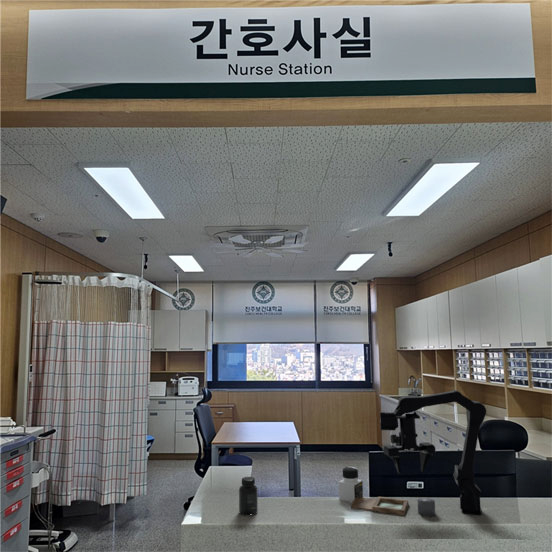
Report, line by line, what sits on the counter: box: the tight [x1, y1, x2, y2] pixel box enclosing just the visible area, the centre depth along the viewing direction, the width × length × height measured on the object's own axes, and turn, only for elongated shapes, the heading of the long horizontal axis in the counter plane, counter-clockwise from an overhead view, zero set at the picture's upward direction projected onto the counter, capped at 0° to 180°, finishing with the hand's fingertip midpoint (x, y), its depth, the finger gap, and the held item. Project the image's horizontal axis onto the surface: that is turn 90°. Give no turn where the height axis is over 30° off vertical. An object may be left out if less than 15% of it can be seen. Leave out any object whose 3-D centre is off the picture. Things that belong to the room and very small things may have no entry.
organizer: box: [350, 496, 409, 516], centre depth 183 cm, size 19×11×2 cm, turn 67°
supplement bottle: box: [238, 476, 259, 516], centre depth 179 cm, size 7×7×12 cm
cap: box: [417, 497, 436, 518], centre depth 176 cm, size 6×6×5 cm
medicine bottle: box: [338, 466, 364, 503], centre depth 193 cm, size 7×7×12 cm
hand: (410, 473), depth 182 cm, fingers open, 9 cm apart
